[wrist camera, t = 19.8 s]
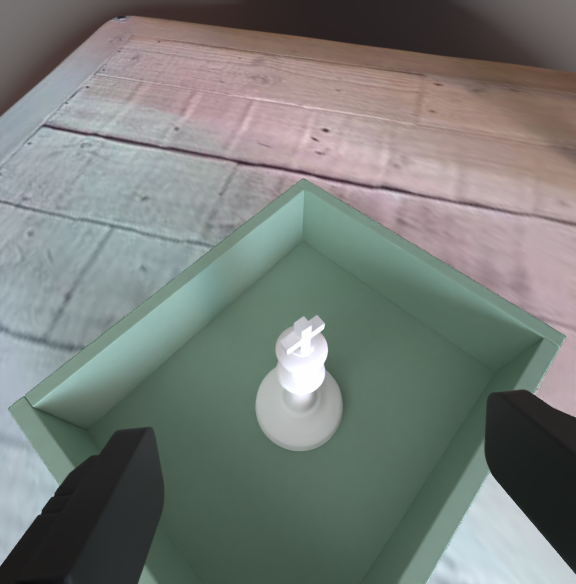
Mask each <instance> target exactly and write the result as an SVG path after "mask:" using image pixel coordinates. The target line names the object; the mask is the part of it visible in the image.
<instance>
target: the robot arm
mask: <svg viewBox="0 0 576 584" xmlns="http://www.w3.org/2000/svg"><path fill="white" fill-rule="evenodd" d="M484 453H485V459H486V462H487V465H488V467H489V470H490V472H491V474H492V475H493V477H494V478H495V479H496V481H497V482H498V483H499V484H500V485H501V486H502V488H503V489H504V490H505V491H506V492H507V494H508V495H509V496H510V497H511V498H512V499H513V501H514V502H515V503H516V504H517V505H518V507H519V508H520V509H521V510H522V511H523V512H524V514H525V515H526V516H527V517H528V518H529V520H530V521H531V522H532V523H533V524H534V525H535V527H536V528H537V529H538V530H539V531H540V533H541V534H542V535H543V536H544V537H545V538H546V540H547V541H548V542H549V543H550V544H551V546H552V547H553V548H554V549H555V550H556V551H557V553H558V554H559V555H560V556H561V557H562V559H563V560H564V561H565V562H566V563H567V564H568V566H569V567H570V568H571V569H572V570H573V572H574V573H575V574H576V418H575V417H573V416H571V415H568V414H566V413H564V412H561V411H559V410H557V409H554V408H552V407H551V406H549V405H548V404H547V403H545V402H544V401H542V400H541V399H539V398H538V397H537V396H535V395H534V394H532V393H531V392H529V391H528V390H524V389H521V390H512V391H502V392H493V393H491V394H490V395H489V396H488V398H487V404H486V423H485V443H484ZM164 493H165V492H164V480H163V475H162V469H161V464H160V458H159V452H158V447H157V441H156V436H155V432H154V430H153V428H152V427H140V428H130V429H120V430H116V431H115V432H114V433H113V435H112V436H111V438H110V439H109V441H108V442H107V444H106V445H105V447H104V448H103V450H102V451H101V453H100V454H99V455H91V456H90V457H89V458H87V459H86V460H85V461H84V462H82V463H81V464H80V465H79V466H77V467H76V468H75V469H74V470H72V471H71V472H70V473H69V474H68V476H67V477H66V478H65V480H64V481H63V482H62V484H61V485H60V486H59V488H58V489H57V490H56V492H55V496H54V497H51V499H50V500H49V501H48V503H47V504H46V505H45V507H44V508H43V509H42V513H41V515H38V516H37V517H36V519H35V520H34V522H33V523H32V524H31V526H30V527H29V528H28V530H27V531H26V532H25V534H24V535H23V536H22V538H21V539H20V540H19V542H18V543H17V545H16V546H15V547H14V549H13V550H12V551H11V553H10V554H9V555H8V557H7V558H6V559H5V561H4V562H3V563H2V565H1V566H0V584H138V582H139V579H140V576H141V573H142V571H143V568H144V565H145V562H146V559H147V556H148V553H149V550H150V547H151V544H152V541H153V538H154V535H155V532H156V529H157V526H158V523H159V520H160V517H161V514H162V511H163V505H164Z"/></svg>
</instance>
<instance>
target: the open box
mask: <svg viewBox="0 0 576 584" xmlns="http://www.w3.org/2000/svg"><path fill="white" fill-rule="evenodd" d="M316 315H318V316H319V318H320V319H321V320H322V321H323V322H324V323H325V326H324V329H323V330H322V331H320V332H321V334H322V335H323V336H324V338H325V339H326V342H327V346H328V354H327V358H326V360H325V362H324V366H325V370H326V371H328V372H329V373H330V374H331V375H332V377H333V378H334V379H335V381H336V382H337V384H338V386H339V388H340V391H341V395H342V401H343V414H342V419H341V422H340V425H339V427H338V429H337V431H336V432H335V434H334V435H333V436H332V437H331V438H330V439H329V440H328V441H327V442H326V443H324V444H323V445H321V446H320V447H317V448H315V449H312V450H308V451H291V450H287V449H284V448H282V447H280V446H278V445H276V444H275V443H273V442H272V441H271V440H270V439H269V438H268V437H267V436H266V435H265V434H264V432H263V431H262V429H261V427H260V425H259V423H258V420H257V416H256V410H255V403H256V396H257V392H258V389H259V386H260V384H261V382H262V381H263V379H264V378H265V376H266V375H267V374H268V373H269V372H270V371H271V370H273V369H274V368H275V367H277V363H278V359H277V356H276V351H275V348H276V342H277V339H278V338H279V336H280V335H281V333H282V332H283V331H285V330H286V329H287V328H289V327H292V326H294V322H296V321H297V320H299V319H300V318H302V317H303V316H304V317H305V318H306V319H307V320H308V321H309V320H310V319H312V318H313V317H315V316H316ZM565 338H566V336H565V335H564V334H562V333H560V332H559V331H557V330H555V329H554V328H552V327H550V326H549V325H547V324H545V323H544V322H542V321H540V320H539V319H537V318H535V317H534V316H532V315H530V314H529V313H527V312H525V311H524V310H522V309H520V308H519V307H517V306H515V305H514V304H512V303H510V302H509V301H507V300H505V299H504V298H502V297H500V296H499V295H497V294H495V293H494V292H492V291H490V290H489V289H487V288H485V287H484V286H482V285H480V284H479V283H477V282H475V281H474V280H472V279H471V278H469V277H467V276H466V275H464V274H462V273H461V272H459V271H457V270H456V269H454V268H452V267H451V266H449V265H447V264H446V263H444V262H442V261H441V260H439V259H437V258H436V257H434V256H432V255H431V254H429V253H427V252H426V251H424V250H422V249H421V248H419V247H417V246H416V245H414V244H412V243H411V242H409V241H407V240H406V239H404V238H402V237H401V236H399V235H397V234H396V233H394V232H392V231H391V230H389V229H387V228H386V227H384V226H382V225H381V224H379V223H377V222H376V221H374V220H372V219H371V218H369V217H367V216H366V215H364V214H362V213H361V212H359V211H357V210H356V209H354V208H353V207H351V206H349V205H348V204H346V203H344V202H343V201H341V200H339V199H338V198H336V197H334V196H333V195H331V194H329V193H328V192H326V191H324V190H323V189H321V188H319V187H318V186H316V185H314V184H313V183H311V182H309V181H308V180H306V179H304V178H303V179H301V180H300V181H299V182H297V183H296V185H293V186H292V187H291V188H290V189H288V190H287V191H286V192H284V193H283V194H282V195H281V196H279V197H278V198H277V199H275V200H274V201H273V202H272V203H270V204H269V205H268V206H266V207H265V208H264V209H263V210H261V211H260V212H259V213H257V214H256V215H255V216H254V217H252V218H251V219H250V220H248V221H247V222H246V223H245V224H243V225H242V226H241V227H239V228H238V229H237V230H236V231H234V232H233V233H232V234H231V235H229V236H228V237H227V238H225V239H224V240H223V241H222V242H220V243H219V244H218V245H216V246H215V247H214V248H213V249H211V250H210V251H209V252H207V253H206V254H205V255H204V256H202V257H201V258H200V259H198V260H197V261H196V262H195V263H193V264H192V265H191V266H189V267H188V268H187V269H186V270H184V271H183V272H182V273H180V274H179V275H178V276H177V277H175V278H174V279H173V280H171V281H170V282H169V283H168V284H166V285H165V286H164V287H163V288H161V289H160V290H159V291H157V292H156V293H155V294H154V295H152V296H151V297H150V298H148V299H147V300H146V301H145V302H143V303H142V304H141V305H139V306H138V307H137V308H136V309H134V310H133V311H132V312H130V313H129V314H128V315H127V316H125V317H124V318H123V319H121V320H120V321H119V322H118V323H116V324H115V325H114V326H112V327H111V328H110V329H109V330H107V331H106V332H105V333H103V334H102V335H101V336H100V337H98V338H97V339H96V340H95V341H93V342H92V343H91V344H89V345H88V346H87V347H86V348H84V349H83V350H82V351H80V352H79V353H78V354H77V355H75V356H74V357H73V358H71V359H70V360H69V361H68V362H66V363H65V364H64V365H62V366H61V367H60V368H59V369H57V370H56V371H55V372H53V373H52V374H51V375H50V376H48V377H47V378H46V379H44V380H43V381H42V382H41V383H39V384H38V385H37V386H35V387H34V388H33V389H32V390H30V391H29V392H28V393H27V394H25V396H23V397H22V398H20V399H19V400H18V401H17V402H15V403H14V404H13V405H11V406H10V407H9V408H8V411H9V412H10V414H11V415H12V417H13V418H14V420H15V421H16V422H17V424H18V425H19V427H20V428H21V430H22V431H23V433H24V434H25V436H26V437H27V439H28V440H29V442H30V443H31V445H32V446H33V448H34V449H35V450H36V452H37V453H38V455H39V456H40V458H41V459H42V461H43V462H44V464H45V465H46V467H47V468H48V470H49V471H50V473H51V474H52V476H53V477H54V479H55V480H56V481H57V483H58V484H59V486H60V485H61V484H62V482H63V481H64V480H65V478H66V477H67V476H68V474H69V473H70V472H71V471H72V470H74V469H75V468H76V467H77V466H79V465H80V464H81V463H82V462H84V461H85V460H86V459H87V458H89V457H90V456H91V455H99V454H100V453H101V451H102V450H103V448H104V447H105V445H106V444H107V442H108V441H109V439H110V438H111V436H112V435H113V433H114V432H115V431H116V430H120V429H130V428H140V427H152V428H153V430H154V432H155V436H156V441H157V447H158V452H159V458H160V464H161V469H162V475H163V480H164V492H165V493H164V505H163V511H162V514H161V517H160V520H159V523H158V526H157V529H156V532H155V535H154V538H153V541H152V544H151V547H150V550H149V553H148V556H147V559H146V562H145V565H144V568H143V571H142V573H141V576H140V579H139V582H138V584H427V583H428V581H429V579H430V578H431V576H432V574H433V572H434V570H435V569H436V567H437V565H438V563H439V562H440V560H441V558H442V556H443V555H444V553H445V551H446V549H447V547H448V546H449V544H450V542H451V540H452V539H453V537H454V535H455V533H456V531H457V530H458V528H459V526H460V524H461V523H462V521H463V519H464V517H465V515H466V514H467V512H468V510H469V508H470V507H471V505H472V503H473V501H474V499H475V498H476V496H477V494H478V492H479V491H480V489H481V487H482V485H483V484H484V482H485V480H486V478H487V476H488V475H489V473H490V470H489V467H488V465H487V462H486V459H485V453H484V443H485V423H486V404H487V398H488V396H489V395H490V394H491V393H493V392H502V391H512V390H521V389H524V390H528V391H529V392H531V393H532V394H534V393H535V391H536V389H537V388H538V386H539V384H540V382H541V381H542V379H543V377H544V375H545V373H546V372H547V370H548V368H549V366H550V365H551V363H552V361H553V359H554V357H555V356H556V354H557V352H558V350H559V347H561V345H562V343H563V341H564V340H565Z"/></svg>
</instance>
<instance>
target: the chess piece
mask: <svg viewBox="0 0 576 584" xmlns="http://www.w3.org/2000/svg"><path fill="white" fill-rule="evenodd" d="M324 326H325V323H324V322H323V321H322V320H321V319H320V318H319V316H318V315H316V316H315V317H313V318H312V319H310V320H309V321H308V320H307V319H306V318H305V317H304V316H303V317H302V318H300V319H299V320H297V321H296V322H294V326H292V327H289V328H287V329H286V330H285V331H283V332H282V333H281V335H280V336H279V338H278V339H277V342H276V348H275V351H276V356H277V359H278V363H277V367H275V368H274V369H273V370H271V371H270V372H269V373H268V374H267V375H266V376H265V378H264V379H263V381H262V382H261V384H260V386H259V389H258V392H257V396H256V403H255V410H256V416H257V420H258V423H259V425H260V427H261V429H262V431H263V432H264V434H265V435H266V436H267V437H268V438H269V439H270V440H271V441H272V442H273V443H275V444H276V445H278V446H280V447H282V448H284V449H287V450H291V451H308V450H312V449H315V448H317V447H320V446H321V445H323V444H324V443H326V442H327V441H328V440H329V439H330V438H331V437H332V436H333V435H334V434H335V432H336V431H337V429H338V427H339V425H340V422H341V419H342V414H343V401H342V395H341V391H340V388H339V386H338V384H337V382H336V381H335V379H334V378H333V377H332V375H331V374H330V373H329V372H328V371H326V370H325V366H324V362H325V360H326V358H327V354H328V346H327V342H326V339H325V338H324V336H323V335H322V334H321V332H320V331H322V330H323V329H324Z"/></svg>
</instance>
